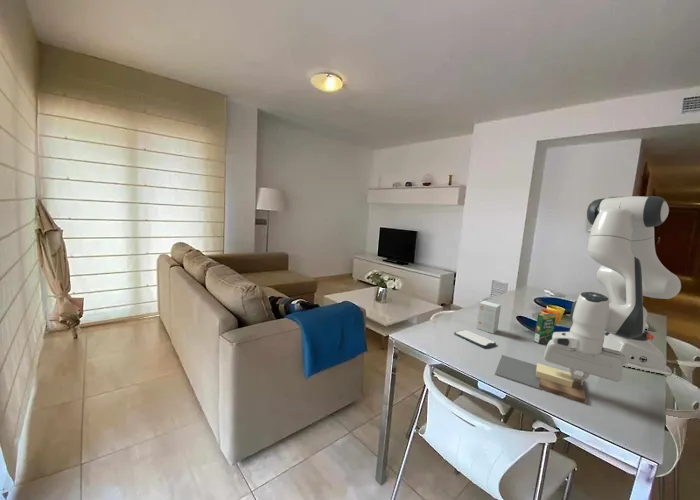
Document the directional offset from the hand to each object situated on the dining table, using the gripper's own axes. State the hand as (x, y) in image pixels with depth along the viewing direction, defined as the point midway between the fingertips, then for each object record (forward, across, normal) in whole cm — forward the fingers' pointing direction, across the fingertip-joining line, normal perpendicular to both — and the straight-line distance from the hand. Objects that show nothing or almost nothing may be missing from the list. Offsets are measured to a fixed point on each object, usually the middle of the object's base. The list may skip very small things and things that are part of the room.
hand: (576, 382), depth 100 cm
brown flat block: (+2, +4, 0) cm, 5 cm away
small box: (+2, +33, -36) cm, 49 cm away
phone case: (+3, +35, -18) cm, 40 cm away
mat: (+2, +16, 0) cm, 16 cm away
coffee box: (+2, +10, -38) cm, 40 cm away
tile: (+1, +6, 0) cm, 7 cm away
